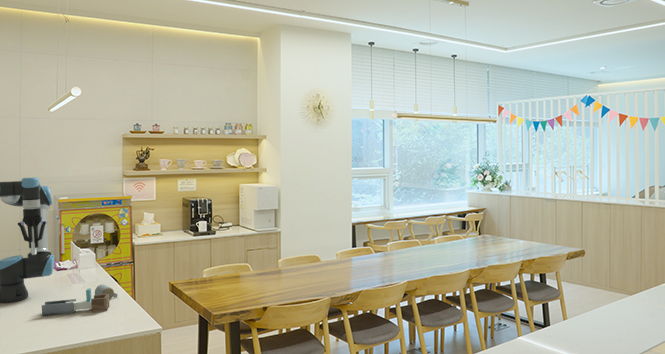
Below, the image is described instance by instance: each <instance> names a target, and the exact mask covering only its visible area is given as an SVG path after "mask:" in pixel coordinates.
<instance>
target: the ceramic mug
mask: <svg viewBox="0 0 665 354" xmlns="http://www.w3.org/2000/svg"><path fill="white" fill-rule="evenodd" d="M102 294H109V301H110V300H111V299H113V297H114V298H117V297H118V296H119V294H118V293H115V290H114V289H113V288H112V287H110V286H109V285H107V284H104V283H102V284H99V285H97V286H96V287H95V290H94V295H102Z"/></svg>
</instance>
